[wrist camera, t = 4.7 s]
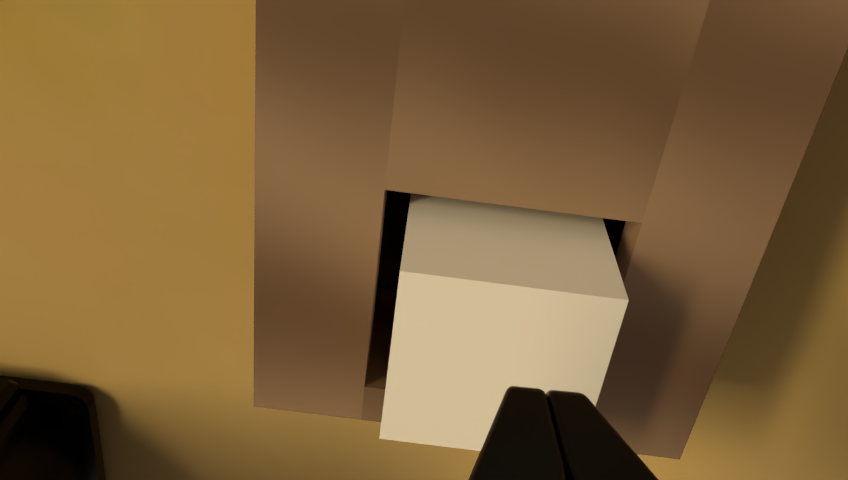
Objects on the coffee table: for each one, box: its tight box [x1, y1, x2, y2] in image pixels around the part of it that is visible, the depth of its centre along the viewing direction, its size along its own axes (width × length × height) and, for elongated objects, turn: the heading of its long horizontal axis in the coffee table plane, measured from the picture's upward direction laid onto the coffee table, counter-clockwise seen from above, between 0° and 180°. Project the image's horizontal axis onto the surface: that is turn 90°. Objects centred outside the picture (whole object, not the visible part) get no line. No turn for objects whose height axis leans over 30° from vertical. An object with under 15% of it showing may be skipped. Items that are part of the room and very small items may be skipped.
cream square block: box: [379, 193, 629, 451], centre depth 15 cm, size 4×4×3 cm
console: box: [254, 0, 848, 459], centre depth 15 cm, size 17×10×4 cm, turn 173°
